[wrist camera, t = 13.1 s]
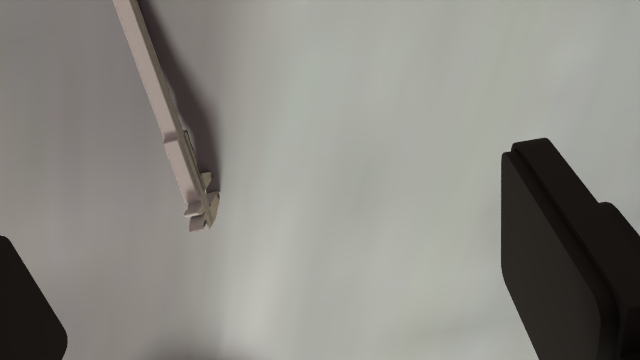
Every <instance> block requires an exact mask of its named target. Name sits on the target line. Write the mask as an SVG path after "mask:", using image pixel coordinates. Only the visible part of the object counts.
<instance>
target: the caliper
mask: <svg viewBox="0 0 640 360" xmlns="http://www.w3.org/2000/svg"><path fill="white" fill-rule="evenodd" d="M113 3H114V5H115V8H116V11H117V14H118V16H119V19H120V22H121V24H122V27H123V30H124V33H125V35H126V38H127V41H128V43H129V46H130V49H131V51H132V54H133V57H134V59H135V62H136V65H137V68H138V70H139V73H140V76H141V78H142V81H143V84H144V86H145V89H146V92H147V95H148V97H149V100H150V103H151V105H152V108H153V111H154V113H155V116H156V119H157V121H158V124H159V127H160V130H161V132H162V135H163V138H164V140H165V141H164V143H163V144H164V147H165V150H166V152H167V155H168V158H169V161H170V163H171V166H172V169H173V172H174V174H175V177H176V180H177V182H178V185H179V188H180V191H181V193H182V196H183V199H184V201H185V203H188V210H186V212H185V213H184V216H185V217H191V219H190V225H189V230H190V232H191V231H196V232H198V231H202V230H207V229H210V227H211V226H212V224H213V222H214V220H215V218H216V214H217V209H218V204H219V199H220V197H219V192H218V191H214V192H210V193H206V194H205V189H206V188H207V187H208V185H209V183H210V182H211V179H212V174H211V172H205V173H200V172H199V169H198V166H197V161H196V157H195V153H194V149H193V147H192V145H191V142H190V139H189V135H188V132H187V130H183V129H182V126H181V123H180V120H179V117H178V115H177V112H176V109H175V106H174V103H173V100H172V98H171V95H170V92H169V89H168V86H167V84H166V81H165V78H164V75H163V72H162V70H161V67H160V64H159V61H158V58H157V55H156V53H155V50H154V47H153V44H152V41H151V38H150V36H149V33H148V30H147V27H146V24H145V21H144V19H143V16H142V13H141V10H140V7H139V4H138V2H137V0H113Z"/></svg>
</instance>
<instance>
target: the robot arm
mask: <svg viewBox="0 0 640 360" xmlns="http://www.w3.org/2000/svg"><path fill="white" fill-rule="evenodd" d="M501 268H502V274H503V278H504V281H505V284H506V286H507V288H508V291H509V293H510V295H511V297H512V300H513V302H514V304H515V306H516V309H517V311H518V313H519V315H520V318H521V320H522V322H523V324H524V327H525V329H526V331H527V333H528V336H529V338H530V340H531V342H532V345H533V347H534V349H535V351H536V354H537V356H538V358H539V360H640V236H639V235H638V233H637V232H636V231H635V230H634V229H633V227H632V226H631V225H630V224H629V222H628V221H627V220H626V219H625V217H624V216H623V215H622V214H621V213H620V211H619V210H618V209H617V208H616V207H615V206H614V205H613V204H611V203H608V202H602V203H598V202H597V200H596V199H595V198H594V197H593V195H592V194H591V193H590V191H589V190H588V189H587V188H586V186H585V185H584V184H583V183H582V181H581V180H580V179H579V177H578V176H577V175H576V174H575V172H574V171H573V170H572V168H571V167H570V166H569V165H568V163H567V162H566V161H565V159H564V158H563V157H562V156H561V154H560V153H559V152H558V150H557V149H556V148H555V147H554V145H553V144H552V143H551V141H550V140H549V139H547V138H540V139H534V140H528V141H522V142H516V143H514V144H513V145H512V148H511V152H505V153H503V154H502V160H501ZM66 348H67V334H66V331H65V329H64V328H63V326H62V324H61V323H60V321H59V319H58V318H57V316H56V315H55V313H54V311H53V310H52V308H51V306H50V305H49V303H48V302H47V300H46V298H45V297H44V295H43V294H42V292H41V290H40V289H39V287H38V285H37V284H36V282H35V281H34V279H33V277H32V276H31V274H30V272H29V271H28V269H27V268H26V266H25V264H24V263H23V261H22V260H21V258H20V256H19V255H18V253H17V251H16V250H15V248H14V247H13V245H12V243H11V242H10V241H9V239H8V238H6V237H5V236H0V360H62V358H63V356H64V354H65V351H66Z"/></svg>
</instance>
